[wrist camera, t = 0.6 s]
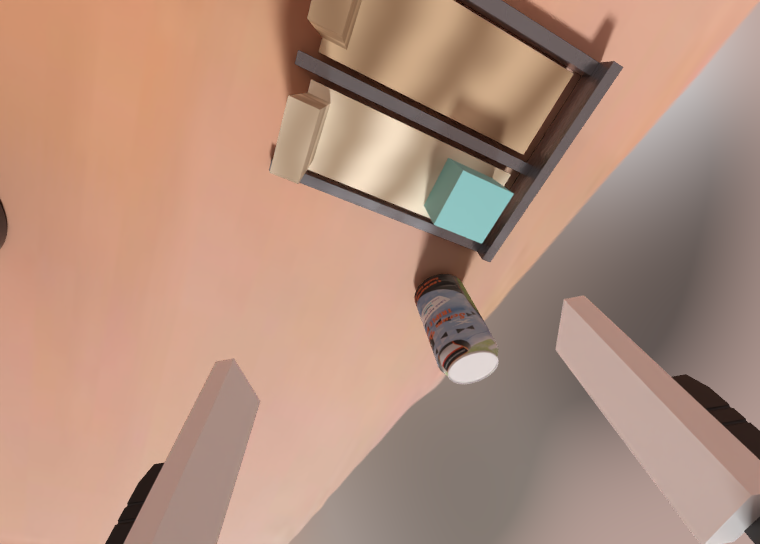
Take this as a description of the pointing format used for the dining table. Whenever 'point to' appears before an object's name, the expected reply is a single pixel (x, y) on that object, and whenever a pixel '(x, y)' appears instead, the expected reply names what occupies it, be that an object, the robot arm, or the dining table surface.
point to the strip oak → (445, 62)
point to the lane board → (531, 173)
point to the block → (466, 201)
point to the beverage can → (456, 330)
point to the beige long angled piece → (364, 149)
